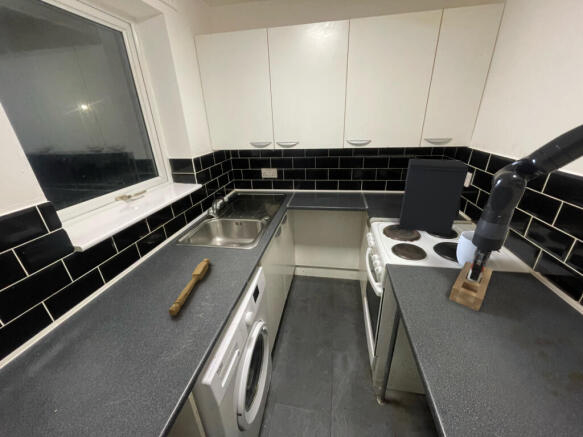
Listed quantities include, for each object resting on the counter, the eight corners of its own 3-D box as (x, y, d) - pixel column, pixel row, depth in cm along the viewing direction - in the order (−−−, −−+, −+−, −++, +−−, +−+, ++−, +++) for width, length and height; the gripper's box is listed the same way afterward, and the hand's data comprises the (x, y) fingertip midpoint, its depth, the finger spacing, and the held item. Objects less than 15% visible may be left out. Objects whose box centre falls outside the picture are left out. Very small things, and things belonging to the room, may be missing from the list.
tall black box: (452, 221, 132) (470, 159, 118) (459, 236, 116) (480, 167, 102) (399, 214, 143) (409, 157, 129) (399, 228, 127) (410, 164, 112)
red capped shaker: (477, 285, 81) (485, 264, 78) (476, 290, 79) (483, 269, 75) (466, 281, 83) (473, 260, 80) (464, 286, 81) (471, 265, 78)
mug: (464, 251, 104) (473, 225, 98) (494, 263, 95) (505, 235, 90) (447, 262, 96) (455, 235, 91) (477, 276, 88) (488, 247, 83)
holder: (488, 280, 86) (492, 269, 84) (478, 311, 73) (483, 299, 71) (462, 271, 91) (466, 261, 89) (448, 298, 78) (452, 287, 76)
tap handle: (166, 309, 75) (203, 257, 102) (169, 316, 76) (205, 262, 103) (175, 309, 74) (210, 257, 102) (177, 316, 76) (211, 262, 103)
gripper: (502, 245, 66) (484, 292, 73) (508, 228, 75) (491, 271, 82) (470, 237, 70) (456, 281, 78) (479, 222, 79) (465, 263, 87)
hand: (474, 276), depth 80 cm, fingers closed on red capped shaker, 3 cm apart
